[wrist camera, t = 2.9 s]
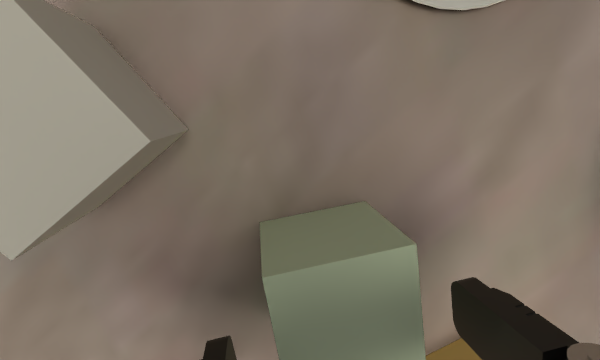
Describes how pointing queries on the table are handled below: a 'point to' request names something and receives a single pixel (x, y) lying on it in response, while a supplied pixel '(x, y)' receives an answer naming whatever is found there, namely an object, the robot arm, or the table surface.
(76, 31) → the grey cube
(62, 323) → the table surface
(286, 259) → the green cube
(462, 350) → the ochre cube
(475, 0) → the pudding
